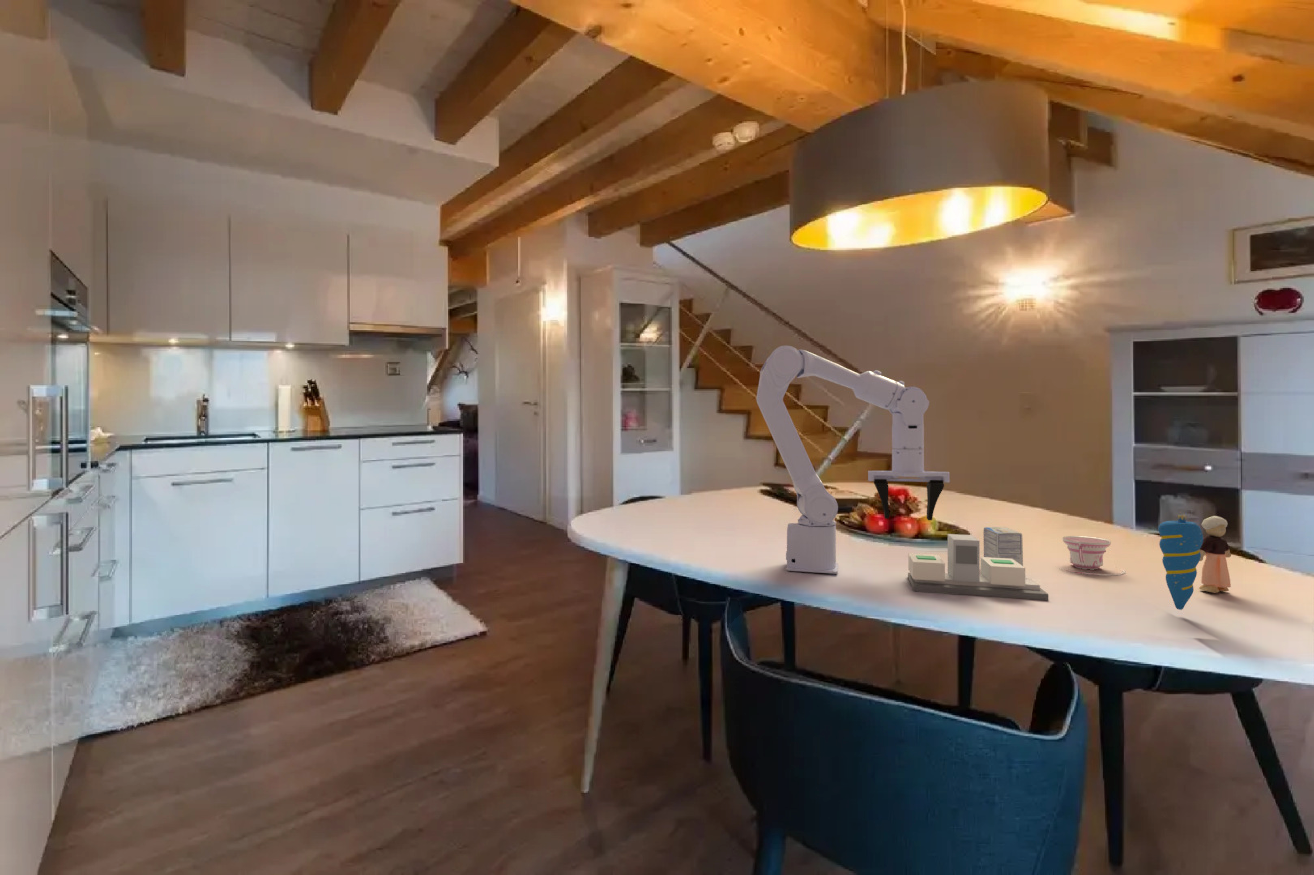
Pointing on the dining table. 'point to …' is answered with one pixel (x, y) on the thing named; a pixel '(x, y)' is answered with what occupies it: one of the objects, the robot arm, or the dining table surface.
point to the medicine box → (1003, 543)
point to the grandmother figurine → (1215, 556)
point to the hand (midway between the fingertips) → (907, 518)
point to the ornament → (1180, 557)
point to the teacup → (1087, 552)
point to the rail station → (994, 581)
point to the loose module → (963, 558)
